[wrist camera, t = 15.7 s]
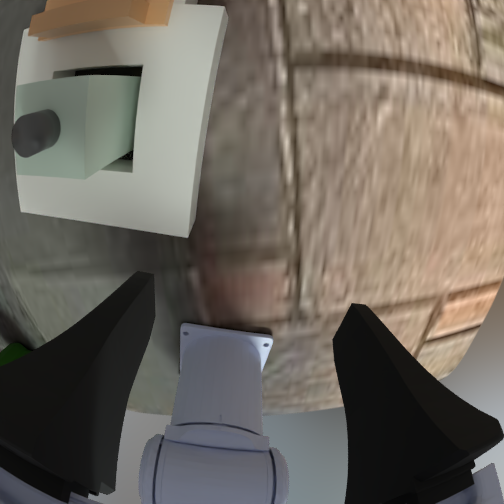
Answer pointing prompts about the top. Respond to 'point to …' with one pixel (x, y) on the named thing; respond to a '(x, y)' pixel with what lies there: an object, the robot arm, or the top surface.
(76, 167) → the plug
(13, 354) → the bell pepper
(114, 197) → the socket housing
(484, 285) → the top surface
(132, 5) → the panel
